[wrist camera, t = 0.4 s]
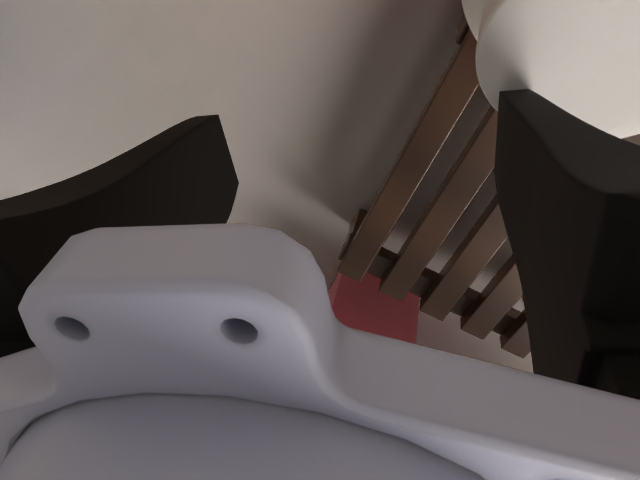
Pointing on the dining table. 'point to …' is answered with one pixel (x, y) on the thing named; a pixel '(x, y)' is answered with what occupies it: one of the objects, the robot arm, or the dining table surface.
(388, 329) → the pink box
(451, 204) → the rack
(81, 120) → the dining table surface
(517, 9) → the pill bottle
